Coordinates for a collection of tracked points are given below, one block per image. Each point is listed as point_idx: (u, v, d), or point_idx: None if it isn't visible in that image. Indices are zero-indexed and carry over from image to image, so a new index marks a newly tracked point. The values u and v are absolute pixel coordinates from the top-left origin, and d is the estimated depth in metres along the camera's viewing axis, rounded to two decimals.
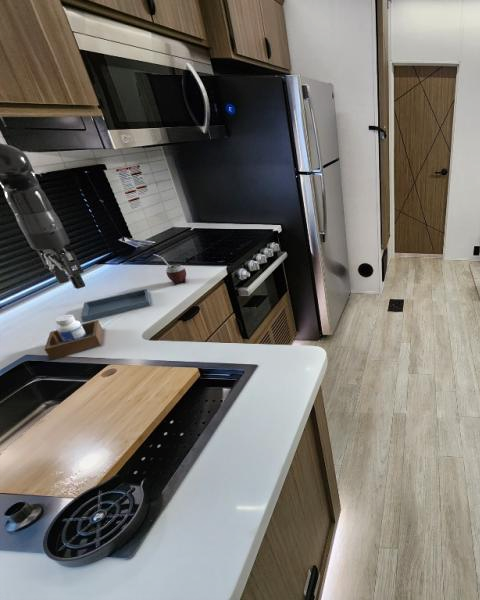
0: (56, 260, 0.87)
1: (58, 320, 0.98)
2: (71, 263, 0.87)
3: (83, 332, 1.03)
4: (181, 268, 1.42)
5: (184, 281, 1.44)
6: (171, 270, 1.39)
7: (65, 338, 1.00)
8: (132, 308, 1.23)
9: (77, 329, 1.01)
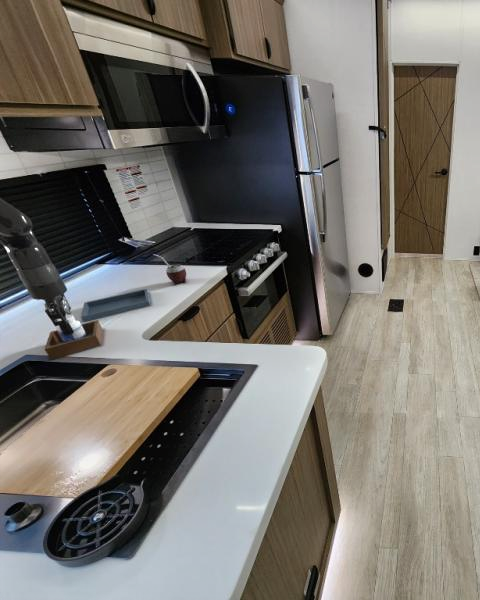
0: None
1: (58, 320, 0.98)
2: (54, 317, 0.93)
3: (83, 332, 1.03)
4: (181, 268, 1.42)
5: (184, 281, 1.44)
6: (171, 270, 1.39)
7: (65, 338, 1.00)
8: (132, 308, 1.23)
9: (77, 329, 1.01)
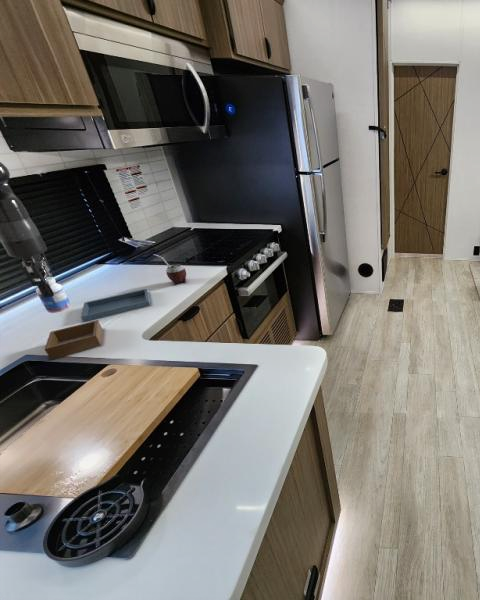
0: None
1: None
2: (32, 276, 0.88)
3: (65, 296, 0.97)
4: (181, 268, 1.42)
5: (184, 281, 1.44)
6: (171, 270, 1.39)
7: (44, 301, 0.94)
8: (132, 308, 1.23)
9: (58, 292, 0.96)
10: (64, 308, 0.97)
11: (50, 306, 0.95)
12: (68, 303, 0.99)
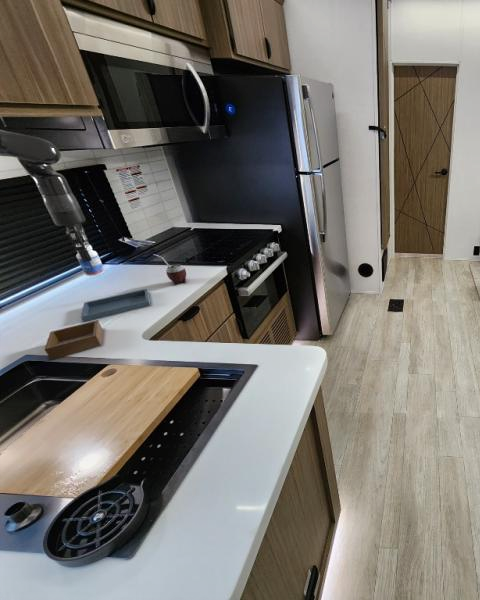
0: None
1: None
2: (74, 242, 1.04)
3: (99, 261, 1.14)
4: (181, 268, 1.42)
5: (184, 281, 1.44)
6: (171, 270, 1.39)
7: (83, 265, 1.11)
8: (132, 308, 1.23)
9: (94, 258, 1.12)
10: (99, 272, 1.14)
11: (88, 270, 1.12)
12: (102, 268, 1.15)
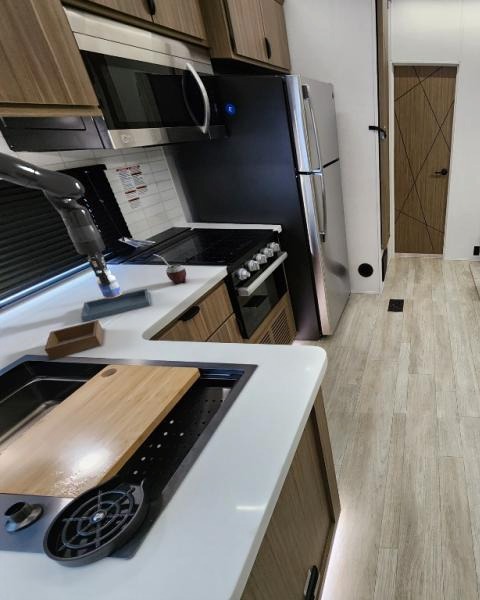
0: None
1: None
2: (96, 269, 1.13)
3: (117, 285, 1.22)
4: (181, 268, 1.42)
5: (184, 281, 1.44)
6: (171, 270, 1.39)
7: (103, 289, 1.19)
8: (132, 308, 1.23)
9: (113, 282, 1.20)
10: (117, 295, 1.22)
11: (107, 293, 1.20)
12: (120, 291, 1.23)
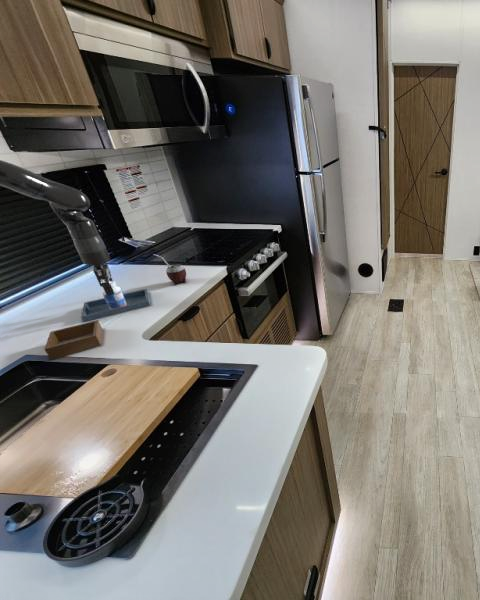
0: None
1: None
2: (100, 277, 1.14)
3: (122, 296, 1.24)
4: (181, 268, 1.42)
5: (184, 281, 1.44)
6: (171, 270, 1.39)
7: (108, 300, 1.21)
8: (132, 308, 1.23)
9: (118, 293, 1.22)
10: (122, 305, 1.24)
11: (112, 304, 1.22)
12: (124, 301, 1.25)
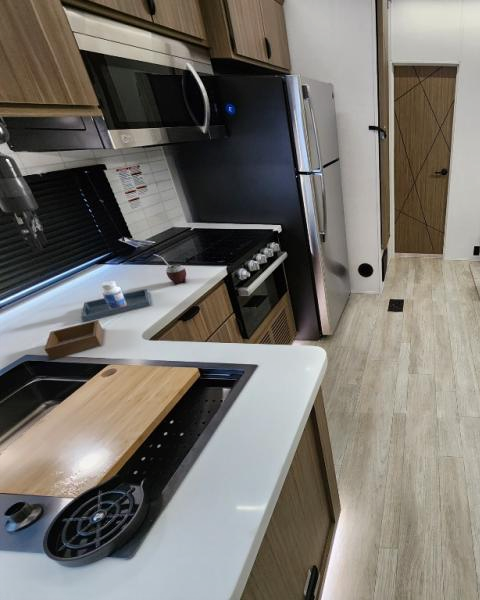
0: None
1: (103, 285, 1.20)
2: (21, 227, 0.95)
3: (122, 296, 1.24)
4: (181, 268, 1.42)
5: (184, 281, 1.44)
6: (171, 270, 1.39)
7: (108, 300, 1.21)
8: (132, 308, 1.23)
9: (118, 293, 1.22)
10: (122, 305, 1.24)
11: (112, 304, 1.22)
12: (124, 301, 1.25)
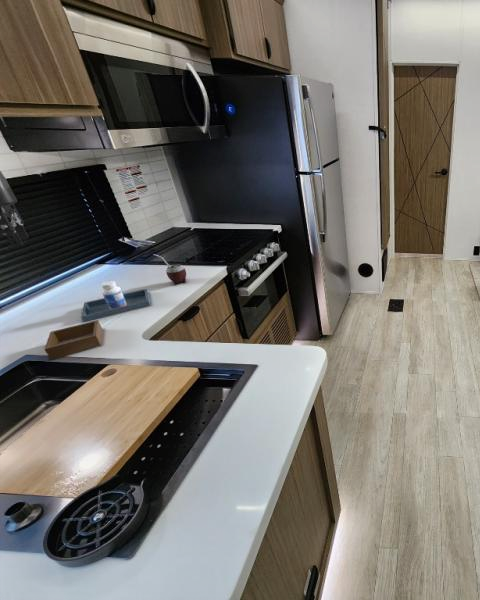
0: None
1: (103, 285, 1.20)
2: None
3: (122, 296, 1.24)
4: (181, 268, 1.42)
5: (184, 281, 1.44)
6: (171, 270, 1.39)
7: (108, 300, 1.21)
8: (132, 308, 1.23)
9: (118, 293, 1.22)
10: (122, 305, 1.24)
11: (112, 304, 1.22)
12: (124, 301, 1.25)
